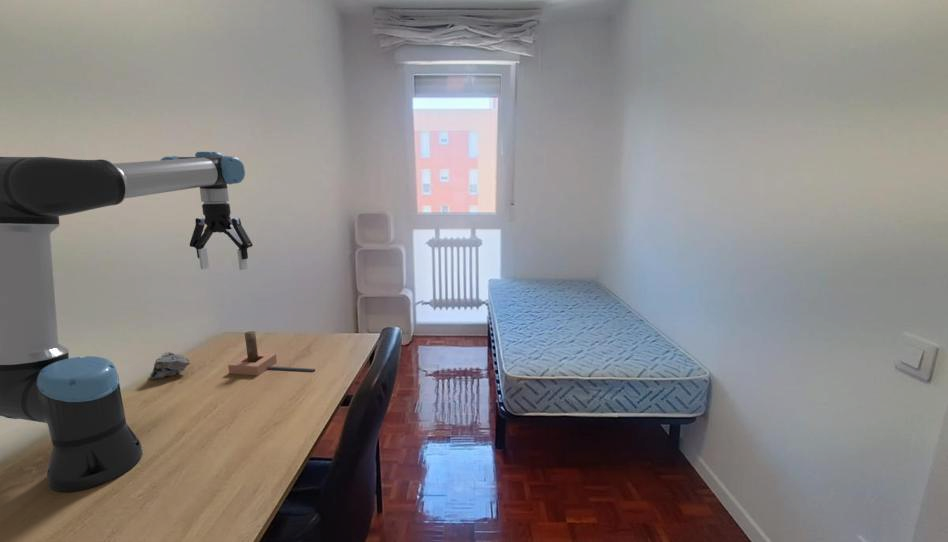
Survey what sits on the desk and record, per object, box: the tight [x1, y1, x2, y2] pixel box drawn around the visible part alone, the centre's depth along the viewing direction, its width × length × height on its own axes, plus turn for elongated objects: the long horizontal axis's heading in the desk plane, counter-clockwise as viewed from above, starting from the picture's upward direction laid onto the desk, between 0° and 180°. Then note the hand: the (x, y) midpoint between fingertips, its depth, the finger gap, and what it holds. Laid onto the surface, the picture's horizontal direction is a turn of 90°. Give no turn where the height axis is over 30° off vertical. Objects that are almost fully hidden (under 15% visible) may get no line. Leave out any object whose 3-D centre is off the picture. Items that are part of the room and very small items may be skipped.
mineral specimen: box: [150, 351, 192, 380], centre depth 134 cm, size 10×8×10 cm
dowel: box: [244, 330, 259, 363], centre depth 138 cm, size 3×3×12 cm
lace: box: [267, 365, 316, 373], centre depth 138 cm, size 1×16×1 cm, turn 83°
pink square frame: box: [227, 352, 278, 376], centre depth 139 cm, size 10×10×3 cm
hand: (224, 268), depth 139 cm, fingers open, 13 cm apart
